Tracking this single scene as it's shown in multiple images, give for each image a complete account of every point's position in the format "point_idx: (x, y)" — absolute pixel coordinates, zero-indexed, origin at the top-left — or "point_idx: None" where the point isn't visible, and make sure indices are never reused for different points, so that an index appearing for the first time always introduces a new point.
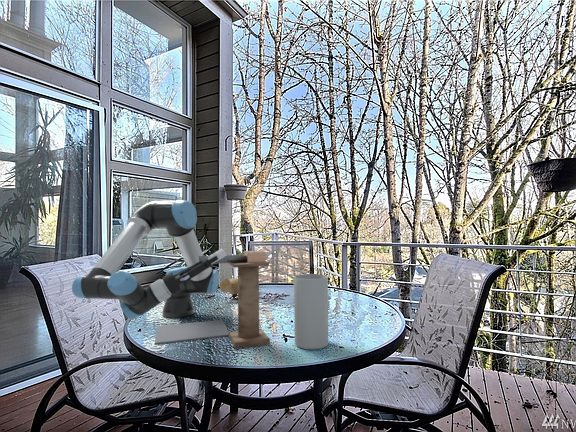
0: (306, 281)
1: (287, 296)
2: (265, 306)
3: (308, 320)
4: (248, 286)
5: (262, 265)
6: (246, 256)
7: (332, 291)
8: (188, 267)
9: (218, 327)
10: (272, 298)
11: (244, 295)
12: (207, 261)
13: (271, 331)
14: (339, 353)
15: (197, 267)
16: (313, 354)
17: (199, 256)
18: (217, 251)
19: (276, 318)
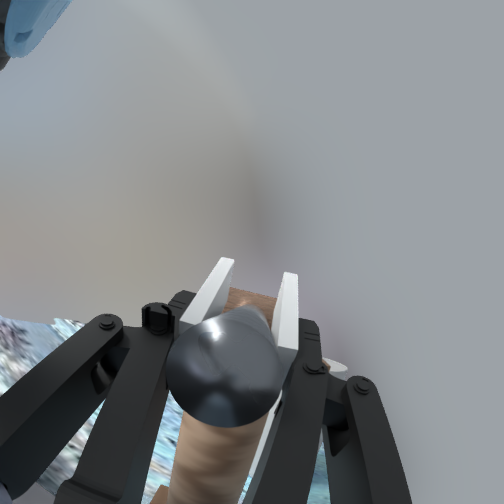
0: (344, 375)
1: (27, 334)
2: (22, 369)
3: (321, 443)
4: (263, 428)
5: None
6: (267, 315)
7: (73, 326)
8: (67, 494)
9: (37, 501)
10: (9, 339)
11: (249, 459)
12: (335, 380)
13: (162, 475)
14: (324, 463)
15: (399, 469)
16: (322, 484)
17: (253, 327)
18: (226, 275)
19: (94, 420)
